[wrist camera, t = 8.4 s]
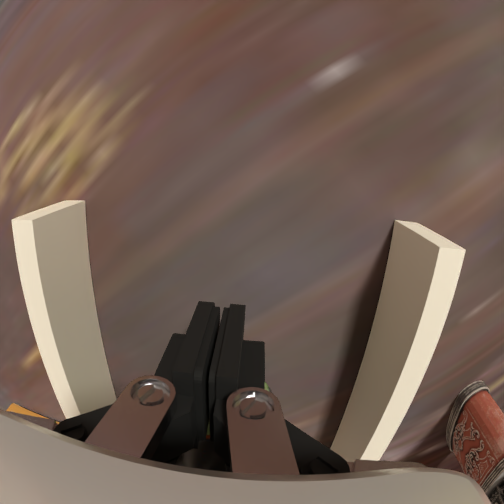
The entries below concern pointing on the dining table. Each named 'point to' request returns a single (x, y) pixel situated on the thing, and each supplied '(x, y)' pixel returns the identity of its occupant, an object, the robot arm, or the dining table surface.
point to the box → (372, 367)
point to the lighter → (479, 439)
